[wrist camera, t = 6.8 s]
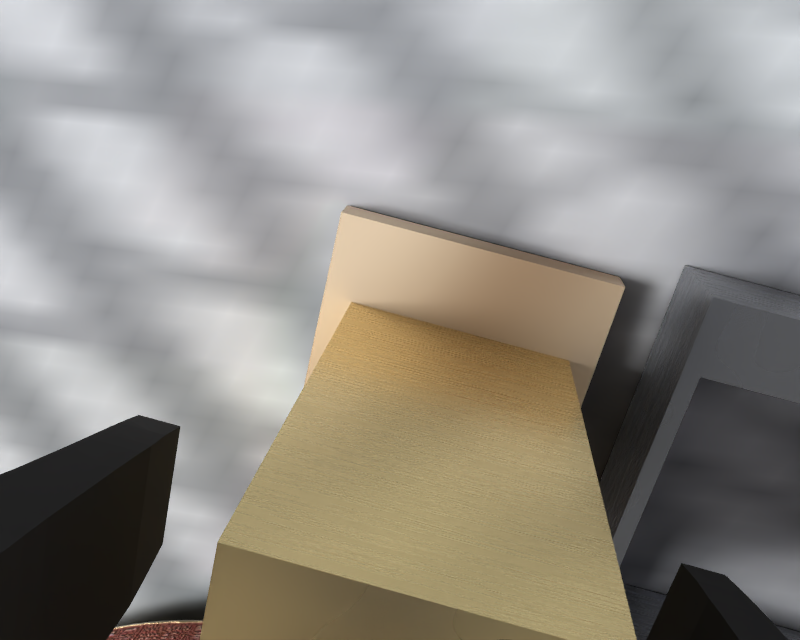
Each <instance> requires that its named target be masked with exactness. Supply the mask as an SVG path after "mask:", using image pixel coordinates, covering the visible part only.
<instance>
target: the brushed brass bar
mask: <svg viewBox="0 0 800 640" xmlns="http://www.w3.org/2000/svg"><path fill="white" fill-rule="evenodd" d="M200 640H637V639H636V635H635V631H634V626H633V622H632V618H631V614H630V610H629V606H628V602H627V598H626V593H625V589H624V585H623V581H622V577H621V573H620V569H619V565H618V561H617V556H616V552H615V548H614V544H613V540H612V536H611V532H610V528H609V524H608V519H607V515H606V511H605V507H604V503H603V499H602V495H601V491H600V487H599V482H598V478H597V474H596V470H595V466H594V462H593V458H592V454H591V449H590V445H589V441H588V437H587V433H586V429H585V425H584V421H583V417H582V412H581V408H580V404H579V400H578V396H577V392H576V388H575V384H574V380H573V375H572V371H571V367H570V363H569V360H565V359H562V358H558V357H554V356H551V355H547V354H543V353H539V352H536V351H532V350H528V349H525V348H521V347H517V346H513V345H510V344H506V343H502V342H499V341H495V340H491V339H487V338H484V337H480V336H476V335H473V334H469V333H465V332H461V331H458V330H454V329H450V328H446V327H443V326H439V325H435V324H432V323H428V322H424V321H420V320H417V319H413V318H409V317H406V316H402V315H398V314H394V313H391V312H387V311H383V310H380V309H376V308H372V307H368V306H365V305H361V304H357V303H353V302H351V303H350V305H349V307H348V309H347V311H346V312H345V314H344V316H343V318H342V320H341V321H340V323H339V325H338V327H337V329H336V330H335V332H334V334H333V336H332V338H331V339H330V341H329V343H328V345H327V347H326V348H325V350H324V352H323V354H322V356H321V357H320V359H319V361H318V363H317V365H316V366H315V368H314V370H313V372H312V374H311V375H310V377H309V379H308V381H307V383H306V384H305V386H304V388H303V390H302V392H301V393H300V395H299V397H298V399H297V401H296V402H295V404H294V406H293V408H292V410H291V411H290V413H289V415H288V417H287V419H286V420H285V422H284V424H283V426H282V428H281V429H280V431H279V433H278V435H277V437H276V438H275V440H274V442H273V444H272V445H271V447H270V449H269V451H268V453H267V454H266V456H265V458H264V460H263V462H262V463H261V465H260V467H259V469H258V471H257V472H256V474H255V476H254V478H253V480H252V481H251V483H250V485H249V487H248V489H247V490H246V492H245V494H244V496H243V498H242V499H241V501H240V503H239V505H238V507H237V508H236V510H235V512H234V514H233V516H232V517H231V519H230V521H229V523H228V525H227V526H226V528H225V530H224V532H223V534H222V535H221V537H220V539H219V541H218V543H217V549H216V554H215V560H214V565H213V570H212V576H211V581H210V587H209V592H208V597H207V603H206V608H205V614H204V619H203V624H202V630H201V635H200Z"/></svg>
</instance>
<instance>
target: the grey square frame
mask: <svg viewBox="0 0 800 640" xmlns="http://www.w3.org/2000/svg"><path fill="white" fill-rule="evenodd" d="M700 377H701V378H705V379H709V380H713V381H716V382H720V383H724V384H728V385H731V386H735V387H739V388H743V389H746V390H750V391H754V392H758V393H761V394H765V395H769V396H773V397H776V398H780V399H784V400H788V401H791V402H795V403H799V404H800V295H796V294H793V293H789V292H785V291H781V290H777V289H774V288H770V287H766V286H762V285H758V284H755V283H751V282H747V281H743V280H739V279H735V278H732V277H728V276H724V275H720V274H716V273H713V272H709V271H705V270H701V269H697V268H694V267H690V266H686V265H685V267H684V269H683V272H682V274H681V277H680V279H679V282H678V284H677V287H676V289H675V292H674V295H673V297H672V300H671V302H670V305H669V307H668V310H667V312H666V315H665V317H664V320H663V322H662V325H661V328H660V330H659V333H658V335H657V338H656V340H655V343H654V345H653V348H652V350H651V353H650V355H649V358H648V361H647V363H646V366H645V368H644V371H643V373H642V376H641V378H640V381H639V383H638V386H637V388H636V391H635V394H634V396H633V399H632V401H631V404H630V406H629V409H628V411H627V414H626V416H625V419H624V421H623V424H622V427H621V429H620V432H619V434H618V437H617V439H616V442H615V444H614V447H613V449H612V452H611V454H610V457H609V459H608V462H607V465H606V467H605V470H604V472H603V475H602V477H601V480H600V482H599V487H600V491H601V495H602V499H603V503H604V507H605V511H606V515H607V519H608V524H609V528H610V532H611V536H612V540H613V544H614V548H615V552H616V556H617V561H618V565H619V567H620V565H621V563H622V560H623V558H624V556H625V553H626V551H627V549H628V546H629V544H630V542H631V539H632V537H633V535H634V532H635V530H636V527H637V525H638V523H639V520H640V518H641V516H642V513H643V511H644V509H645V506H646V504H647V502H648V499H649V497H650V495H651V492H652V490H653V488H654V485H655V483H656V481H657V478H658V476H659V473H660V471H661V469H662V466H663V464H664V462H665V459H666V457H667V455H668V452H669V450H670V448H671V445H672V443H673V441H674V438H675V436H676V434H677V431H678V429H679V427H680V424H681V422H682V420H683V417H684V415H685V412H686V410H687V408H688V405H689V403H690V401H691V398H692V396H693V394H694V391H695V389H696V387H697V384H698V382H699V380H700ZM623 585H624V589H625V593H626V598H627V602H628V606H629V610H630V614H631V618H632V622H633V626H634V631H635V635H636V639H637V640H646V639H647V637H648V635H649V633H650V631H651V628H652V626H653V624H654V622H655V620H656V618H657V615H658V613H659V611H660V609H661V607H662V605H663V602H664V600H665V598H666V595H663V594H659V593H655V592H652V591H648V590H644V589H641V588H637V587H634V586H630V585H626V584H623ZM775 626H776V625H775ZM776 627H777V628H778V629H779V630H780V631H781V633H782V634H783V635H784V636H785V637H786V638H787V639H788V640H800V632H798V631H794V630H790V629H787V628H783V627H779V626H776Z"/></svg>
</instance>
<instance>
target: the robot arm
mask: <svg viewBox="0 0 800 640" xmlns="http://www.w3.org/2000/svg"><path fill="white" fill-rule="evenodd" d="M179 431H180V426H177V425H173V424H170V423H166V422H162V421H159V420H155V419H151V418H148V417H144V416H140V415H138V416H135V417H133V418H130V419H127V420H125V421H123V422H120V423H118V424H116V425H113V426H111V427H109V428H107V429H104V430H102V431H100V432H98V433H95V434H93V435H91V436H89V437H87V438H84V439H82V440H80V441H78V442H75V443H73V444H71V445H69V446H67V447H64V448H62V449H60V450H57V451H55V452H53V453H50V454H48V455H46V456H43V457H41V458H39V459H37V460H34V461H32V462H30V463H27V464H25V465H23V466H20V467H18V468H16V469H13V470H11V471H8V472H6V473H3V474H0V640H106V639H107V638H108V636H109V635H110V634H111V632H112V631H113V629H114V628H115V626H116V625H117V624H118V622H119V621H120V619H121V618H122V616H123V615H124V613H125V612H126V610H127V609H128V607H129V606H130V604H131V602H132V601H133V599H134V597H135V595H136V593H137V591H138V590H139V588H140V586H141V584H142V582H143V580H144V579H145V577H146V575H147V573H148V571H149V569H150V567H151V565H152V563H153V561H154V559H155V557H156V555H157V554H158V552H159V550H160V548H161V546H162V544H163V537H164V531H165V524H166V518H167V511H168V504H169V498H170V491H171V484H172V478H173V471H174V464H175V458H176V451H177V444H178V438H179ZM646 640H788V639H787V638H786V637H785V636H784V635H783V634H782V633H781V631H780V630H779V629H778V628H777V627H776V626H775V625H774V624H773V623H772V622H771V621H770V620H769V619H768V618H767V616H766V615H765V614H764V613H763V612H762V611H761V610H760V609H759V608H758V607H757V606H756V605H755V604H754V603H753V602H752V601H751V600H750V599H749V598H748V597H747V596H746V595H745V594H744V593H743V592H742V591H741V590H740V589H739V588H738V587H737V586H736V585H735V584H734V583H733V582H732V581H731V580H730V579H729V578H728V577H727V576H725V575H723V574H719V573H715V572H712V571H708V570H704V569H701V568H697V567H693V566H690V565H686V564H682V563H681V566H680V568H679V570H678V572H677V574H676V576H675V579H674V581H673V583H672V585H671V587H670V589H669V592H668V594H667V596H666V598H665V600H664V602H663V605H662V607H661V609H660V611H659V613H658V615H657V618H656V620H655V622H654V624H653V626H652V628H651V631H650V633H649V635H648V637H647V639H646Z"/></svg>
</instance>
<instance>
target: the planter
mask: <svg viewBox="0 0 800 640" xmlns="http://www.w3.org/2000/svg"><path fill="white" fill-rule="evenodd" d="M202 624H203V620H168V621H154V622H144V623H136V624H129V625H124V626H118V627H115V628H114V629H113V631H112V632H111V634H110V635H109V636H108V638H107V639H106V640H200V635H201V630H202Z"/></svg>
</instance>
